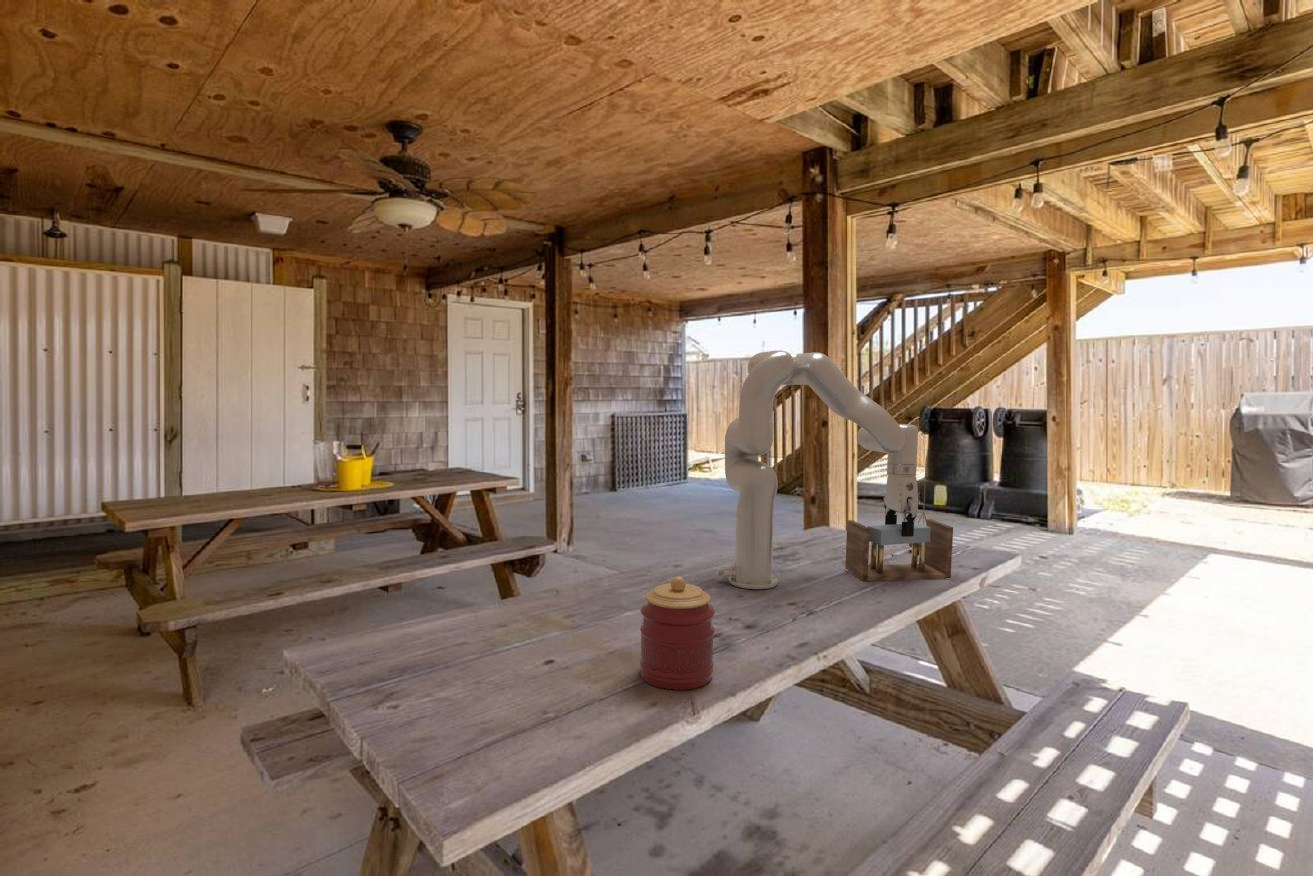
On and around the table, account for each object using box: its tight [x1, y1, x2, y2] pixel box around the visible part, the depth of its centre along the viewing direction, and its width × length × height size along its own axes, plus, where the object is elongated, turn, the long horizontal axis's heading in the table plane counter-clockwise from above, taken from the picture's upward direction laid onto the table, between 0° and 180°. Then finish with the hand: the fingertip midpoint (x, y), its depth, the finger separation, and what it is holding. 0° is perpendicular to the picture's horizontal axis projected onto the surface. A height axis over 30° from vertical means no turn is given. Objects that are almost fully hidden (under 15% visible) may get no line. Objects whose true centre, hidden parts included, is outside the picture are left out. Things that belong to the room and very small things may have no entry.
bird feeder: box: [907, 456, 928, 552], centre depth 213 cm, size 9×9×30 cm
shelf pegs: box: [869, 542, 926, 573], centre depth 189 cm, size 14×6×8 cm, turn 98°
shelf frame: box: [844, 518, 954, 582], centre depth 188 cm, size 25×11×14 cm, turn 98°
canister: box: [639, 576, 716, 691], centre depth 120 cm, size 13×13×18 cm
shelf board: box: [867, 522, 931, 546], centre depth 188 cm, size 16×6×4 cm, turn 109°
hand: (898, 532), depth 188 cm, fingers open, 9 cm apart
